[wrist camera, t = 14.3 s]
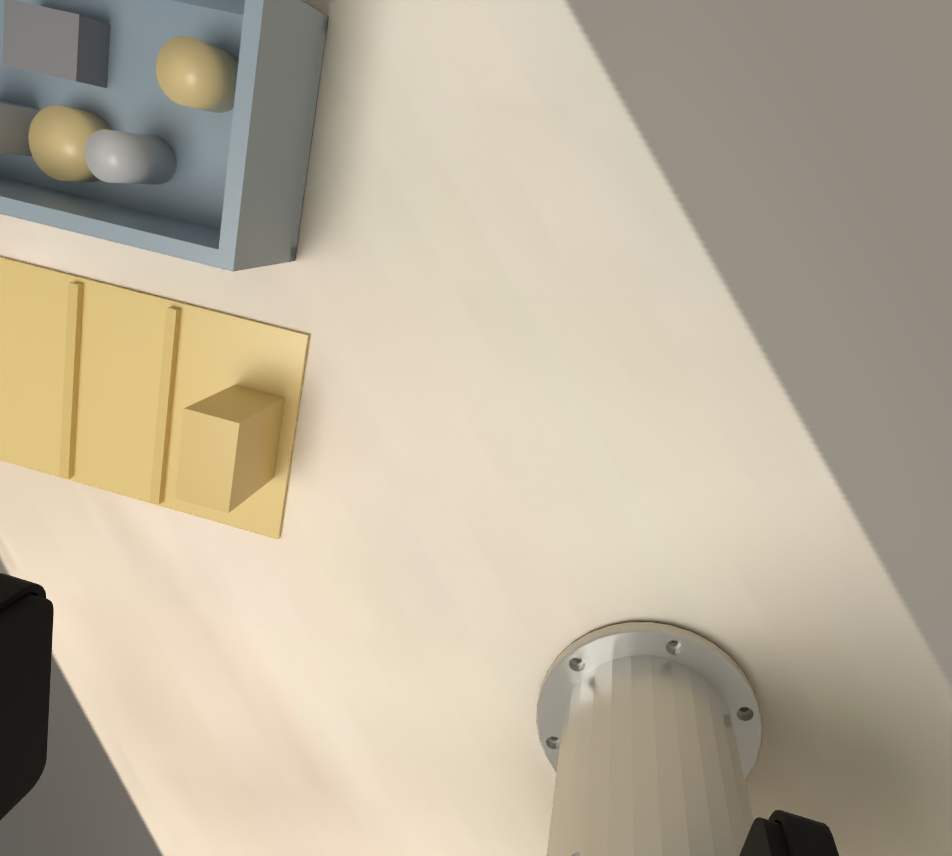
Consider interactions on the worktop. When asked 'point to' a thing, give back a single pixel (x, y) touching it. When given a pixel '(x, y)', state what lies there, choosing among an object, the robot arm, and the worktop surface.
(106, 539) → the worktop surface
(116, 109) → the tub
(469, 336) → the worktop surface
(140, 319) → the lid
